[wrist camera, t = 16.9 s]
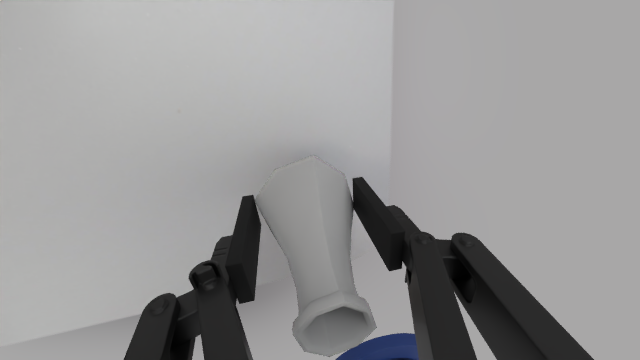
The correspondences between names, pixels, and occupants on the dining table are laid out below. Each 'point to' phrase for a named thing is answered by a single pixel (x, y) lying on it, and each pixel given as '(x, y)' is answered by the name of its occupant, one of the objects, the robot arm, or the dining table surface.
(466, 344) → the robot arm
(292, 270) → the flask
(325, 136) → the dining table surface
